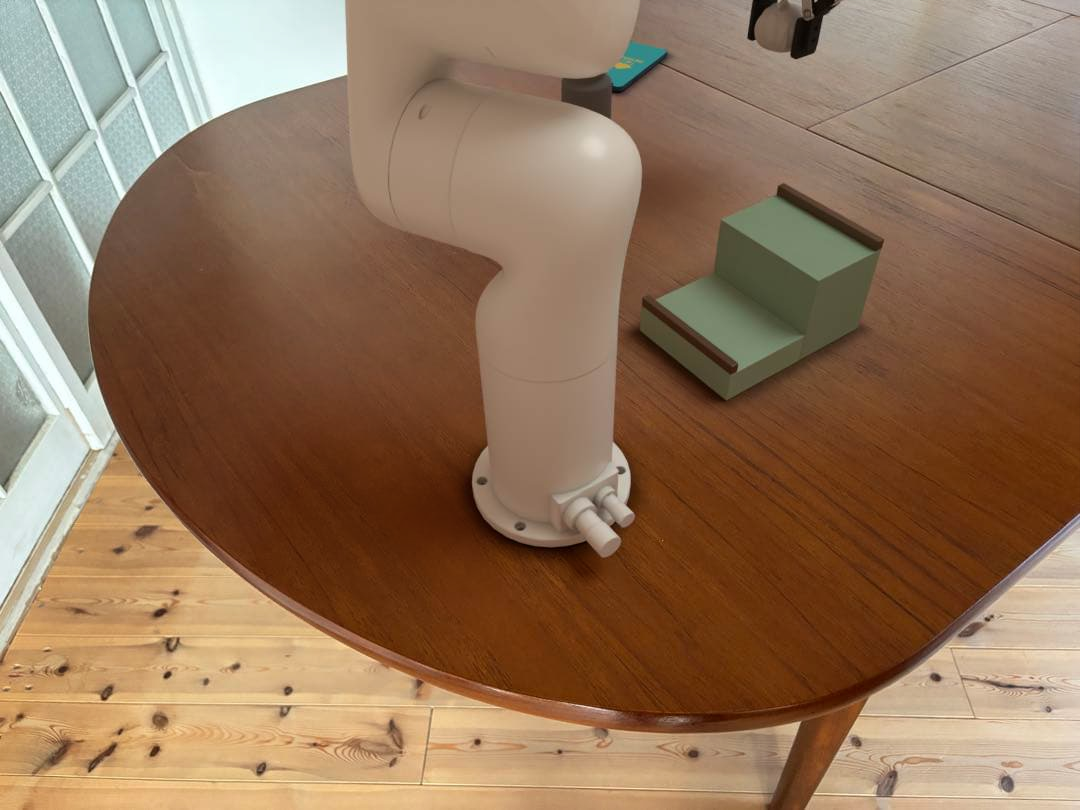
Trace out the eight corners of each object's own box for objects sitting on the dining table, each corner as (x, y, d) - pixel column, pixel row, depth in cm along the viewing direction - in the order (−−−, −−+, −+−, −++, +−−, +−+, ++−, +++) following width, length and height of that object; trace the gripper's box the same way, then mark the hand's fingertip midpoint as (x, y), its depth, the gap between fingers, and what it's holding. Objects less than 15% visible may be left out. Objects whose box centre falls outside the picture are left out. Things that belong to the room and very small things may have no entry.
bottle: (553, 169, 105) (551, 46, 94) (574, 148, 109) (575, 27, 98) (597, 180, 103) (599, 55, 92) (617, 158, 106) (621, 35, 96)
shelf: (858, 328, 82) (884, 239, 75) (726, 400, 75) (741, 310, 68) (767, 268, 89) (783, 182, 82) (639, 330, 82) (645, 242, 75)
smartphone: (670, 49, 128) (621, 86, 119) (669, 54, 128) (621, 92, 119) (626, 40, 131) (576, 76, 122) (626, 46, 131) (576, 82, 122)
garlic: (770, 63, 88) (778, 10, 85) (741, 45, 92) (749, -7, 88) (819, 53, 90) (829, 1, 86) (789, 36, 93) (798, -15, 90)
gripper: (719, -164, 82) (699, 30, 94) (861, -132, 71) (817, 82, 84) (775, -175, 85) (748, 15, 97) (919, -145, 74) (869, 63, 87)
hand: (780, 44), depth 90 cm, fingers closed on garlic, 5 cm apart
